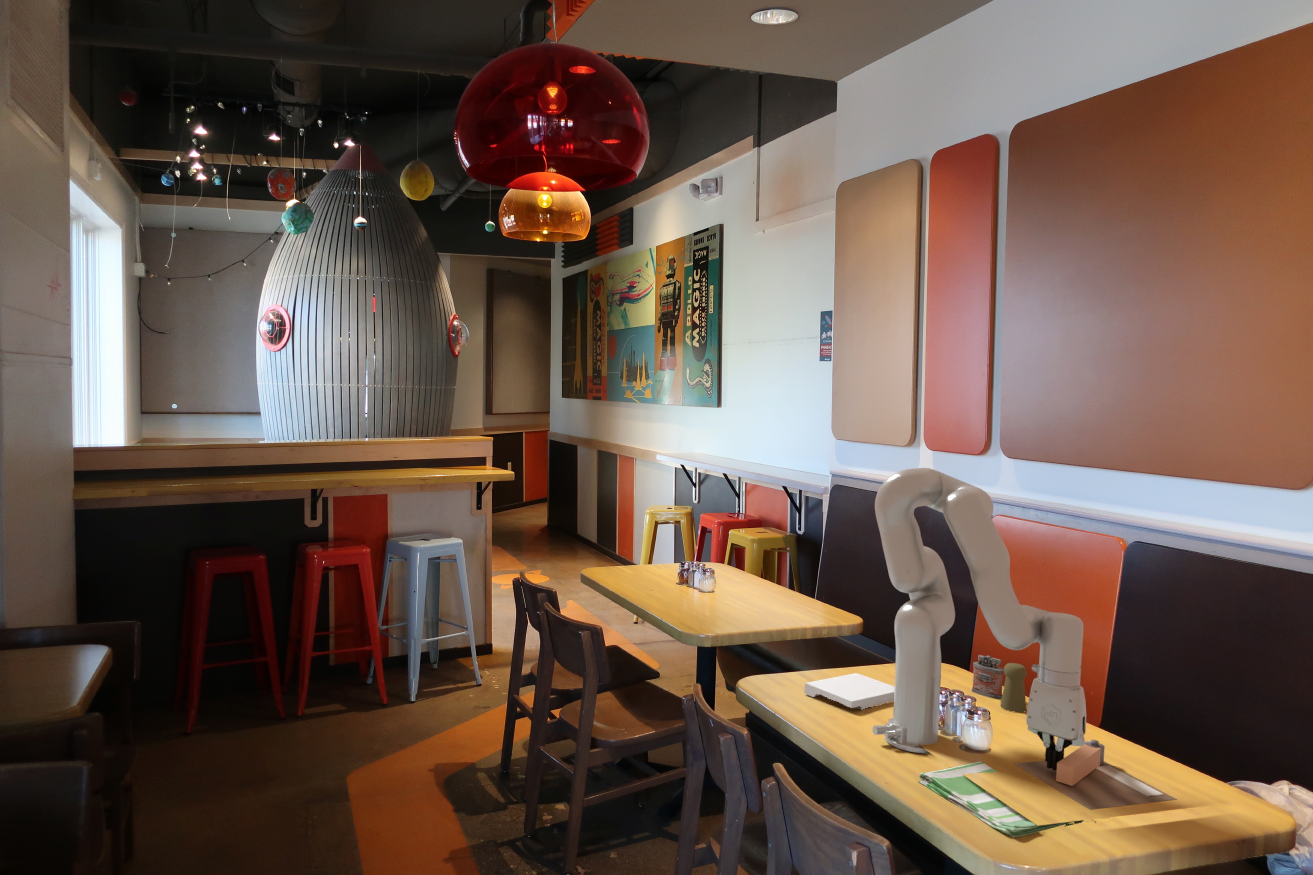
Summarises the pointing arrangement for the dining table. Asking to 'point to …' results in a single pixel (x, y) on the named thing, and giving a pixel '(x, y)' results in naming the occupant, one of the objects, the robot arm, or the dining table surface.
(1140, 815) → the dining table surface
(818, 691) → the white flat block
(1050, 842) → the dining table surface
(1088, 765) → the folding leg
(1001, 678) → the lighter
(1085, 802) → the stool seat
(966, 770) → the dish towel
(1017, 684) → the olive pepper mill
